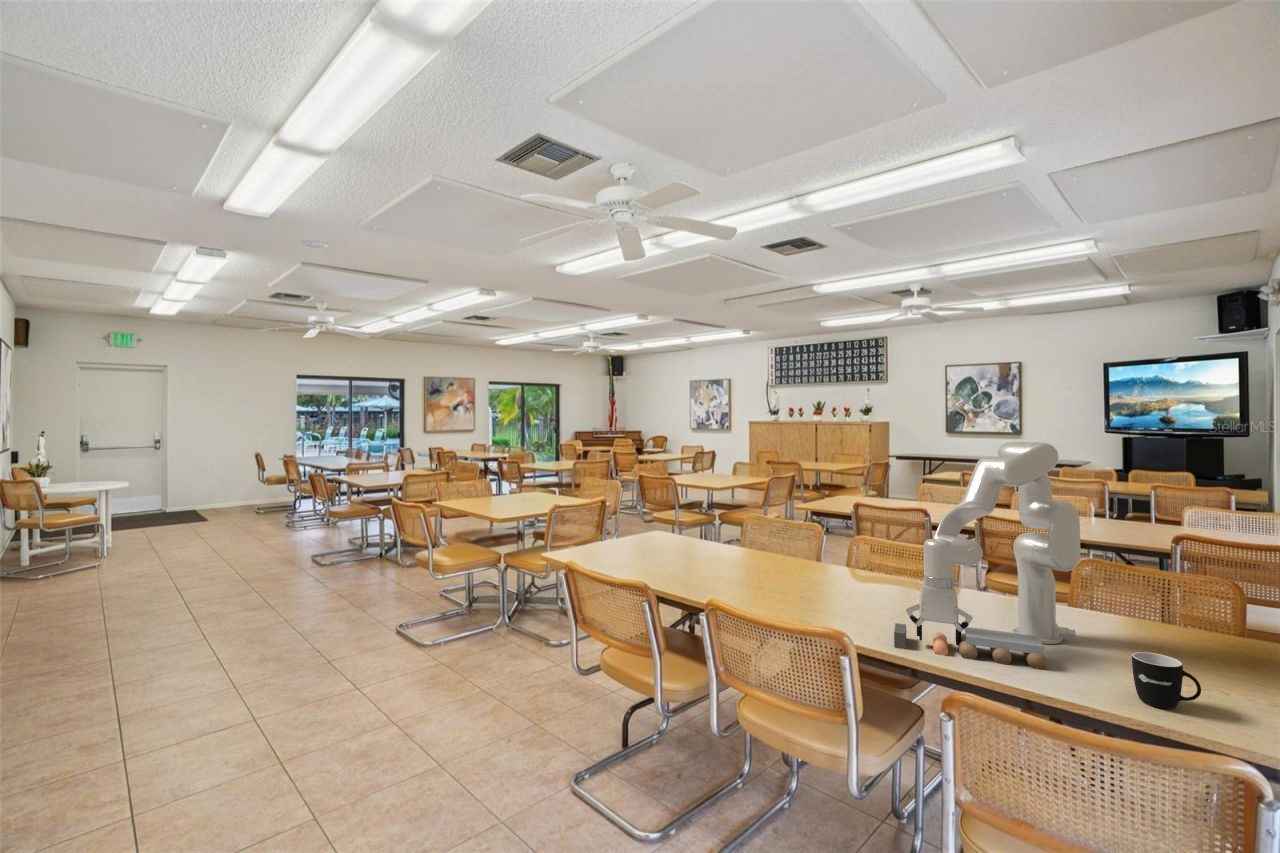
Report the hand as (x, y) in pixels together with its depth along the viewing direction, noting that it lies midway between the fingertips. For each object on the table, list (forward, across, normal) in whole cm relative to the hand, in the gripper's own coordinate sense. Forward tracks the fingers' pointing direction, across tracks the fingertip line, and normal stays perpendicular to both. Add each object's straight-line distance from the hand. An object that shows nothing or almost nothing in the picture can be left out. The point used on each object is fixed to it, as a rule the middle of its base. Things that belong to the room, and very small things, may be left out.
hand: (938, 641), depth 172 cm
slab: (-2, -16, 0) cm, 16 cm away
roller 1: (+3, 0, 0) cm, 3 cm away
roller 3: (0, -23, 0) cm, 23 cm away
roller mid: (0, -15, 0) cm, 15 cm away
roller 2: (0, -7, 0) cm, 7 cm away
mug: (+3, -47, +16) cm, 50 cm away
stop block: (+3, +10, 0) cm, 11 cm away
